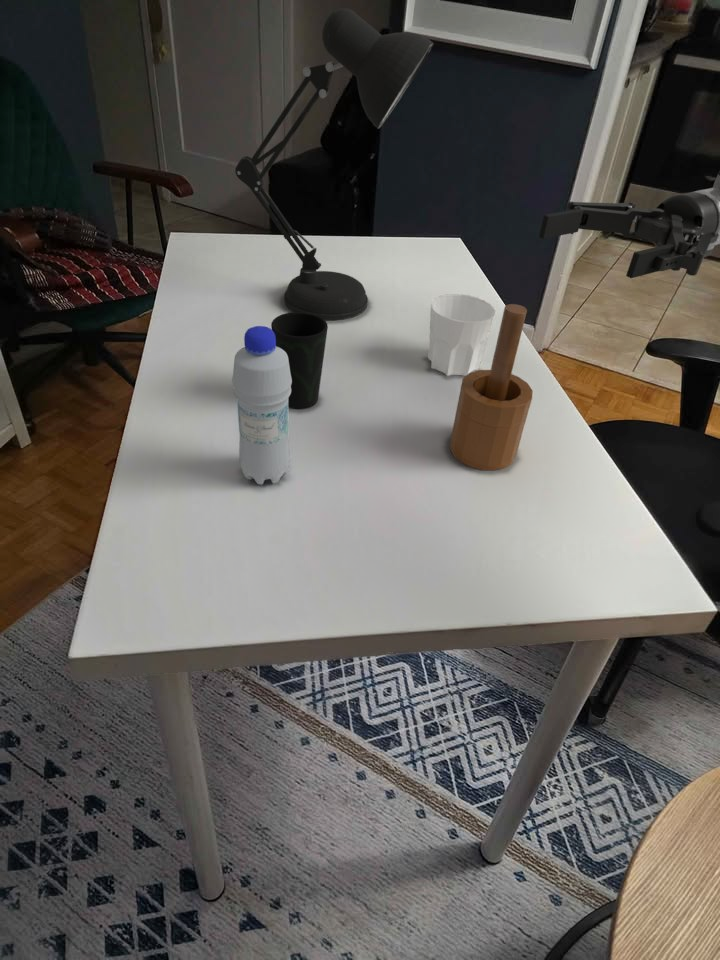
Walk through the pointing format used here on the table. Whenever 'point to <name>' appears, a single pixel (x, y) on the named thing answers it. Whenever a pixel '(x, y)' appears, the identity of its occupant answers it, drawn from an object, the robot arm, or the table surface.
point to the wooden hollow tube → (489, 422)
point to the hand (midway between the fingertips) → (585, 245)
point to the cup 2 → (458, 332)
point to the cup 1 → (302, 354)
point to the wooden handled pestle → (505, 351)
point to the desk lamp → (381, 84)
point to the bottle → (262, 406)
